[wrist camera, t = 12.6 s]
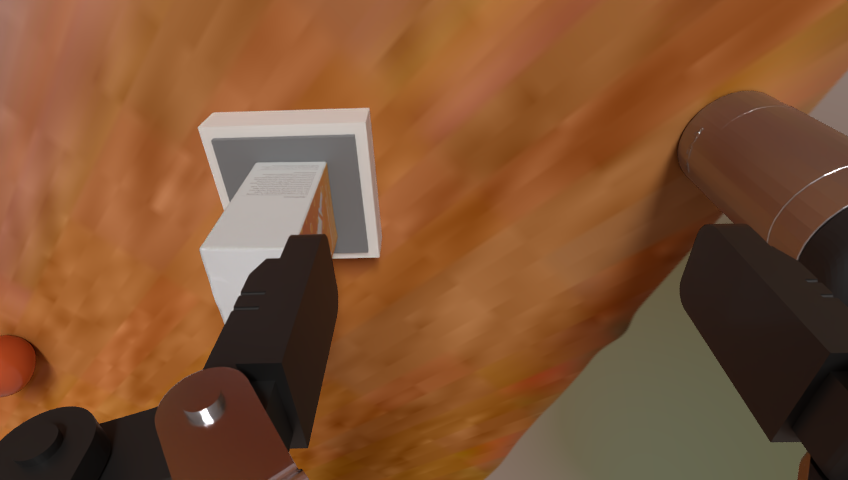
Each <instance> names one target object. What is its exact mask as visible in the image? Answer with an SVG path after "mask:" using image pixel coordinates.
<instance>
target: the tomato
mask: <svg viewBox="0 0 848 480" xmlns="http://www.w3.org/2000/svg"><path fill="white" fill-rule="evenodd" d="M35 366H36V353H35V350H34V348H33V346H32V345H31V344H30V343H29V342H28V341H26V340H24V339H23V338H20V337H17V336H13V335H3V336H0V397H6V396H9V395H13V394H15V393H17V392H19V391H20V390H21V389H22V388H23V387H25V386H26V385H27V384H28V383H29V381H30V380H31V378H32V376H33V373H34V370H35Z"/></svg>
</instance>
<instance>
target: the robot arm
mask: <svg viewBox="0 0 848 480" xmlns="http://www.w3.org/2000/svg"><path fill="white" fill-rule="evenodd" d="M678 161H679V164H680V167H681V169H682V171H683V172H684V173H685V175H686V176H687V177H688V178H689V179H690V180H691V181H692V182H693V183H694V184H695V185H696V186H697V187H698V188H699V189H700V190H701V191H702V192H703V193H704V194H705V195H706V196H707V197H708V198H709V199H710V200H711V201H712V202H713V203H714V204H715V205H716V206H717V207H718V208H719V209H720V210H721V211H722V212H723V213H724V214H725V215H726V216H727V217H728V218H729V219H730V220H731V221H732V222H733V223H734V224H707V225H704V226H703V227H702V228H701V229H700V230H699V232H698V234H697V237H696V239H695V242H694V245H693V248H692V251H691V253H690V256H689V259H688V262H687V265H686V267H685V270H684V273H683V276H682V279H681V282H680V298H681V302H682V305H683V307H684V309H685V311H686V312H687V314H688V315H689V317H690V318H691V320H692V321H693V323H694V325H695V326H696V328H697V329H698V331H699V332H700V334H701V335H702V337H703V339H704V340H705V342H706V343H707V344H708V346H709V348H710V349H711V351H712V352H713V354H714V356H715V357H716V359H717V360H718V362H719V363H720V365H721V366H722V368H723V369H724V371H725V372H726V374H727V376H728V377H729V379H730V380H731V382H732V383H733V385H734V386H735V388H736V389H737V391H738V393H739V394H740V395H741V397H742V399H743V400H744V402H745V403H746V405H747V406H748V408H749V409H750V411H751V412H752V414H753V416H754V417H755V419H756V420H757V422H758V423H759V425H760V427H761V428H762V429H763V431H764V433H765V434H766V436H767V437H768V439H769V440H770V442H802V444H803V445H804V447H805V448H806V450H807V452H806V453H805V455H804V456H803V457H802V459H801V461H800V464H799V472H798V479H797V480H848V136H847V135H845V134H843V133H841V132H839V131H837V130H835V129H833V128H832V127H830V126H828V125H826V124H824V123H822V122H820V121H818V120H816V119H814V118H813V117H811V116H809V115H807V114H805V113H803V112H801V111H799V110H798V109H796V108H794V107H792V106H788V105H786V104H784V103H782V102H780V101H778V100H776V99H774V98H772V97H771V96H769V95H767V94H765V93H761V92H757V91H740V92H736V93H731V94H728V95H726V96H723V97H721V98H719V99H717V100H715V101H714V102H712V103H710V104H709V105H707V106H706V107H705V108H704V109H702V110H701V111H700V112H699V113H698V114H697V115H696V116H695V117H694V118H693V119H692V120H691V121H690V123H689V124H688V126H687V127H686V129H685V130H684V132H683V134H682V137H681V139H680V142H679V147H678ZM233 308H234V310H233V311H231V313H230V315H229V317H228V319H227V321H226V323H225V325H224V327H223V329H222V331H221V333H220V335H219V338H218V340H217V342H216V344H215V346H214V348H213V350H212V352H211V354H210V356H209V358H208V360H207V362H206V364H205V366H204V368H203V370H201V371H198V372H196V373H193V374H191V375H189V376H188V377H186V378H184V379H183V380H181V381H180V382H178V383H177V384H176V385H175V386H173V387H172V388H171V389H170V390H169V391H168V392H167V394H166V395H165V396H164V397H163V399H162V400H161V402H160V404H159V406H158V407H155V408H152V409H149V410H146V411H142V412H139V413H136V414H132V415H129V416H125V417H122V418H118V419H115V420H111V421H108V422H104V423H101V424H99V423H98V422H97V420H96V419H95V418H94V416H93V415H92V414H91V413H90V412H89V411H88V410H86V409H84V408H80V407H61V408H56V409H53V410H49V411H47V412H44V413H41V414H39V415H37V416H35V417H33V418H31V419H29V420H27V421H26V422H24V423H22V424H21V425H19V426H18V427H16V428H15V429H13V430H12V431H11V432H10V433H9V434H7V435H6V436H5V437H4V438H3V439H2V440H1V441H0V480H309V479H308V477H307V476H306V474H305V473H304V471H303V470H302V469H300V470H299V469H298V468H297V466H296V465H295V463H294V461H293V459H292V458H291V456H290V454H289V449H290V448H308V446H309V441H310V437H311V432H312V428H313V423H314V418H315V414H316V409H317V405H318V400H319V396H320V391H321V386H322V382H323V377H324V373H325V368H326V364H327V359H328V355H329V350H330V345H331V341H332V336H333V332H334V327H335V323H336V318H337V312H338V290H337V284H336V278H335V273H334V268H333V262H332V257H331V251H330V246H329V241H328V238H327V236H326V234H305V235H290V236H289V238H288V240H287V242H286V245H285V247H284V249H283V252H282V254H281V256H280V258H267V259H265V260H264V261H263V262H262V263H261V264H260V265H259V266H258V267H257V268H255V269H254V270H253V271H252V272H251V273H250V274H249V276H248V278H247V280H246V282H245V284H244V286H243V288H242V290H241V296H238V298H237V300H236V302H235V305H234V307H233Z"/></svg>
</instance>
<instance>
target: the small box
mask: <svg viewBox="0 0 848 480" xmlns="http://www.w3.org/2000/svg"><path fill="white" fill-rule="evenodd" d="M305 234H326V236H327V238H328V241H329V246H330V251H331V257H333V253H334V250H335V246H336V242H337V238H338V236H337V231H336V225H335V219H334V213H333V206H332V199H331V191H330V183H329V175H328V167H327V162H258V163H256V164H255V165H254V166H253V168H252V170H251V171H250V173H249V174H248V176H247V177H246V179H245V180H244V182H243V183H242V185H241V186H240V188H239V189H238V191H237V192H236V194H235V195H234V197H233V199H232V200H231V202H230V203H229V205H228V206H227V208H226V209H225V211H224V212H223V214H222V215H221V217H220V218H219V220H218V221H217V223H216V224H215V226H214V228H213V229H212V231H211V232H210V234H209V235H208V237H207V238H206V240H205V241H204V243H203V244H202V246H201V247H200V254H201V257H202V260H203V263H204V266H205V270H206V273H207V276H208V279H209V282H210V285H211V289H212V293H213V296H214V299H215V301H216V304H217V306H218V308H219V310H220V313H221V316H222V318H223V321H224V324H225V323H226V321H227V319H228V317H229V315H230V313H231V311H233V310H234V308H233V307H234V305H235V302H236V300H237V298H238V296H241V290H242V288H243V286H244V284H245V282H246V280H247V278H248V276H249V274H250V273H251V272H252V271H253V270H254V269H255V268H257V267H258V266H259V265H260V264H261V263H262V262H263V261H264V260H265V259H267V258H280V256H281V254H282V252H283V249H284V247H285V245H286V242H287V240H288V238H289V236H290V235H305Z"/></svg>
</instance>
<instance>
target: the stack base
mask: <svg viewBox="0 0 848 480" xmlns="http://www.w3.org/2000/svg"><path fill="white" fill-rule="evenodd" d="M198 130H199V133H200V136H201V139H202V142H203V145H204V149H205V152H206V155H207V158H208V161H209V164H210V168H211V171H212V174H213V177H214V180H215V183H216V186H217V190H218V193H219V196H220V199H221V202H222V205H223V209H224V211H225V209H226V208H227V206H228V205H229V203H230V202H231V200H232V199H233V197H234V195H235V194H236V192H237V191H238V189H239V188H240V186H241V185H242V183H243V182H244V180H245V179H246V177H247V176H248V174H249V173H250V171H251V170H252V168H253V166H254V165H255V164H256V163H258V162H327V167H328V175H329V183H330V191H331V199H332V206H333V213H334V219H335V225H336V231H337V236H338V238H337V242H336V246H335V250H334V253H333V257H332V259H336V258H375V257H380V250H381V242H382V232H381V222H380V212H379V201H378V191H377V181H376V171H375V160H374V150H373V140H372V129H371V119H370V109H369V108H350V109H316V110H283V111H249V112H215V113H212V114H211V115H210V116H209V117H208V118H207V119H206V120H205V121H204V122H203V123H202V124H201V125H200V126H199V127H198Z"/></svg>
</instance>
